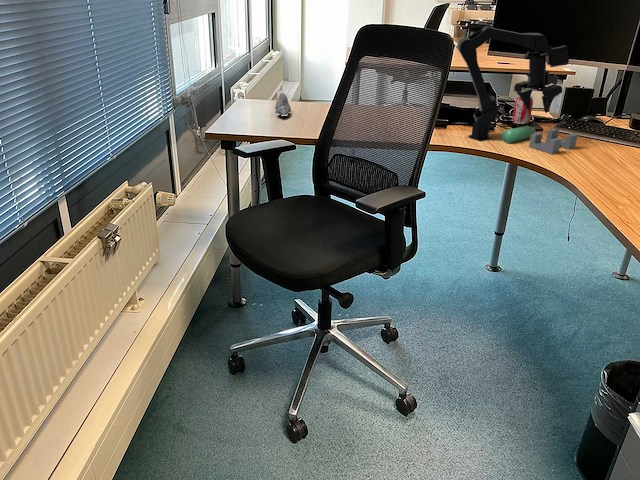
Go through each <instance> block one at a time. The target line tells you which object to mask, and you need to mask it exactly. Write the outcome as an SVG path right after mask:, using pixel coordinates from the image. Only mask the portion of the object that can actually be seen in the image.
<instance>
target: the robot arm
mask: <svg viewBox="0 0 640 480" xmlns="http://www.w3.org/2000/svg"><path fill="white" fill-rule="evenodd" d="M488 40H494V41H498V42H499V41H500V42H505V43H509V44H514V45H519V46H521V47H525V48H526V49H528V51H527V52H526V53H525V54H524V55H523V57H522V58H523V59H524V60H528V73H526V77H528V78H529V79H528V81H527V80H523V81H520V82H516V83H515V85H514V87H513V88H514V89H513V90H514V91H513V92H515V93H516V94H517V95H519V96H520V98H521V99H522V101H523V103H524V105H525V106H526V108H527V109H530V100H531V96H532V93H533V91H536V92H541V93H542V96H541V100H542V105H543V109H544V113H545V114H548V113H549V111H550V108H551V105H552V102H553V101H554V99H555V98H556V97H557V96H559V95H560V94H563V86H562V85H560V84H558V80H559V75H554V74H553V75H552V74H550V71H549V70H547V66H549V67H550V68H555V67H560V66H567V65H568V64H569V61H570V56H569V51H568V46H567V45H561V46H557V47H552V46H550V44H548V43H549V42H548V41H549V40H548V38H547V36H546V35H544V34H542V33H539V32H525V33H524V32H521V33H520V32H516V31H511V30H505V29H500V28H495V27H491V26H488V25H486V26H484V27H483V28H481V29H480V30H478V31H476V32H474V33H472V34H471V35H469V36H468V37H466V36H465V37H462V38H461V39H460V40H459V41H458V42H457V44H456V45H457V47H456V48H457V51H458V52H459V54H460V55H461V57H462V59H463V60H464V62H465V64H466V66H467V69H468V72H469V74H470V78H471V81H472V84H473V86H474V89H475V92H476V95H477V99H478V108H479V109H478V110H477V111H475V112H474V113H473V115H472V117H473V120H474V122H472V128H471V134H470V135H468V136H467V137H468V138H471V139H473V140H477V141H479V142H481V141H486V140H489V139H492V137H491V136H489V135H490V128H491V126H490V125H491V124H492V122H493V121H494V120H495V119H496V118H497V116H498V115H499V111H498V110H500V109H499V107H498V105H497V100H496V98H495V97H494V96H493V95H492V96H490V95H489V92H488V89H487V86H486V83H485V80H484V77H483V75H482V71H481V69H480V65H479V62H478V53H477V52H478V51H477V49H478V48H479V47H480V46H482V45H483V44H485V42H487V41H488ZM529 50H531V51H534V52H530V51H529ZM541 52H544V53H541Z"/></svg>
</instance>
